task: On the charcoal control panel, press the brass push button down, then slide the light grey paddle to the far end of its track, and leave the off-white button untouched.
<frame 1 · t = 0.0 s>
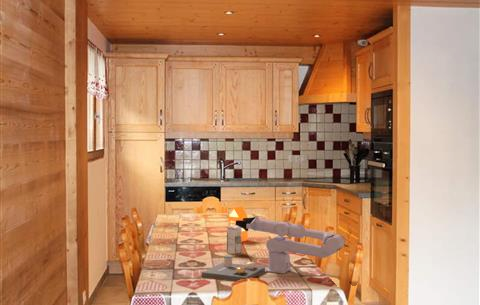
hand: (239, 221, 266), 22 cm above the table, tool horizontal, fingers open, 7 cm apart
control panel: (233, 274, 253), on the table
brass button: (240, 271, 246), point 3 cm above the table, slide at 0.0 cm
grey paddle: (228, 261, 259), point 5 cm above the table, slide at 0.0 cm
white button: (250, 266, 255), point 3 cm above the table, slide at 0.0 cm
orange juice: (238, 240, 332), on the table
syrup box: (234, 253, 297), on the table
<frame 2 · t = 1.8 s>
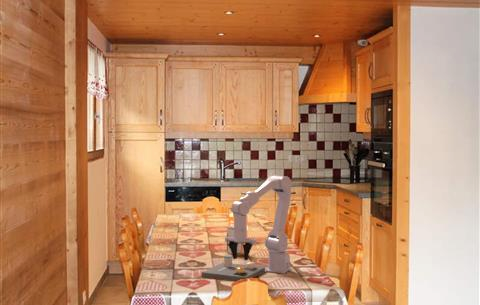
hand: (240, 259, 245), 8 cm above the table, tool pointing down, fingers open, 5 cm apart
nothing on the table moved.
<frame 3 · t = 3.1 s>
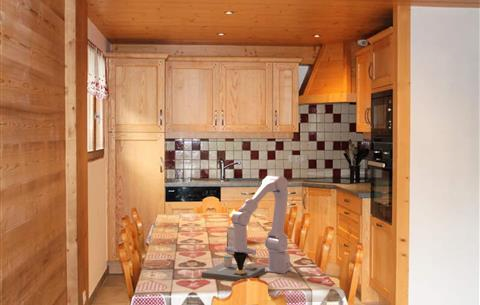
hand: (240, 269, 246), 4 cm above the table, tool pointing down, fingers closed, pressing on brass button
brass button: (240, 272, 246), point 3 cm above the table, slide at 0.7 cm, touching gripper
everything else where it was.
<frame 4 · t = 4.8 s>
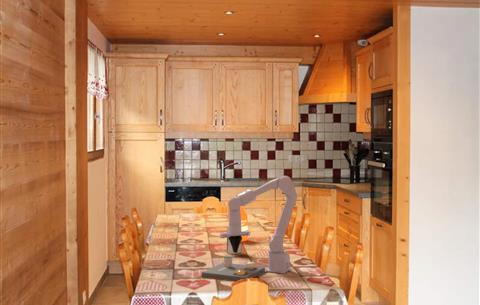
hand: (235, 252, 260), 8 cm above the table, tool pointing down, fingers closed
brass button: (240, 273, 246), point 2 cm above the table, slide at 1.3 cm
everything else where it was.
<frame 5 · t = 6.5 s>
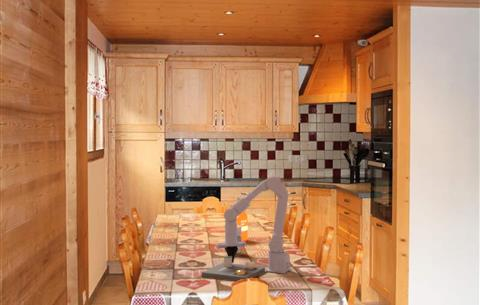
hand: (231, 262, 261), 3 cm above the table, tool pointing down, fingers closed
grey paddle: (228, 261, 258), point 5 cm above the table, slide at 0.2 cm, touching gripper
everything else where it was.
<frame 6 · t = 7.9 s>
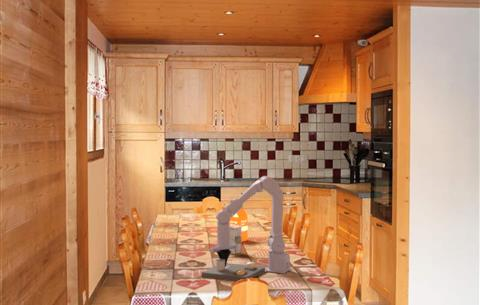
hand: (223, 266, 255), 3 cm above the table, tool pointing down, fingers closed
grey paddle: (220, 264, 252), point 5 cm above the table, slide at 7.2 cm, touching gripper
everything else where it was.
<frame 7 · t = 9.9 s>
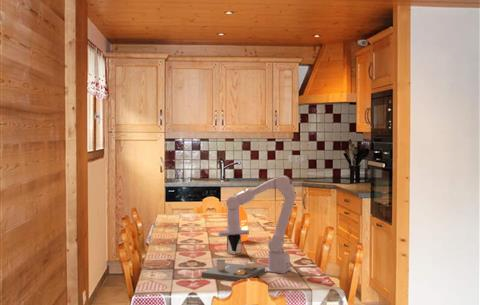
hand: (234, 250, 262), 9 cm above the table, tool pointing down, fingers closed
grey paddle: (220, 264, 252), point 5 cm above the table, slide at 7.1 cm
everything else where it was.
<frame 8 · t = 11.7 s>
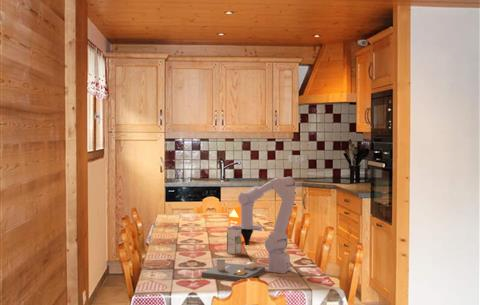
hand: (247, 244, 272), 9 cm above the table, tool pointing down, fingers closed
nothing on the table moved.
at the end: brass button slide at 1.3 cm; grey paddle slide at 7.1 cm; white button slide at 0.0 cm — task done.
